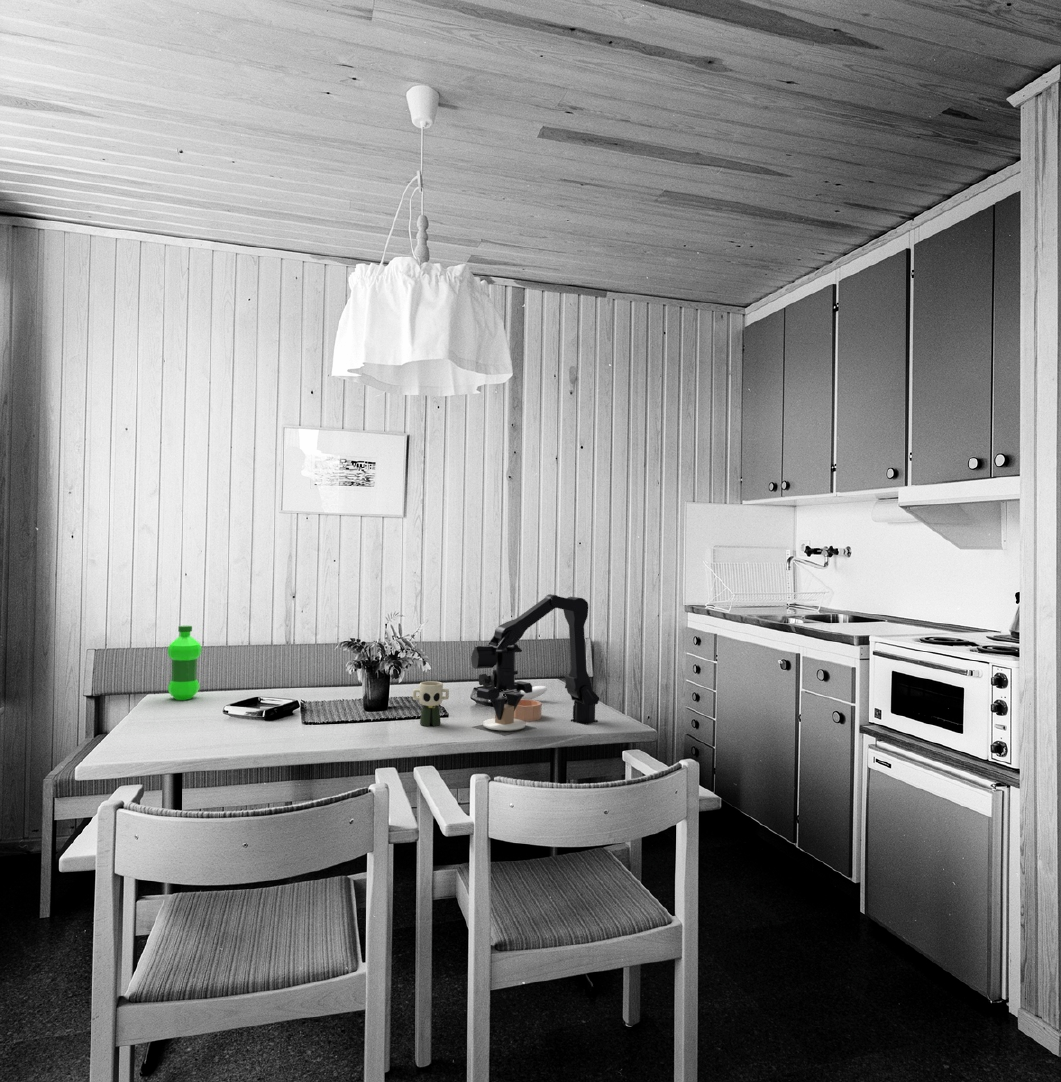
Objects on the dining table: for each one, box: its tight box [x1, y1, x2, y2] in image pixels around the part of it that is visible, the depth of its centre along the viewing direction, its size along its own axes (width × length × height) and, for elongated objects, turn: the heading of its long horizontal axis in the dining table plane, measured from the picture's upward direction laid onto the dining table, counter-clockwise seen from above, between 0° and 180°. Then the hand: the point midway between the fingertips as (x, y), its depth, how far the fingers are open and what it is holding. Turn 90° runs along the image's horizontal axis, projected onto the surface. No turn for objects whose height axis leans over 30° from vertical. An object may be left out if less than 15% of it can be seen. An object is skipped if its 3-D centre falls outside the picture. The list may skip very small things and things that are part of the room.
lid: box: [482, 703, 527, 731], centre depth 235 cm, size 13×13×6 cm
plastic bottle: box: [167, 625, 202, 701], centre depth 268 cm, size 10×10×25 cm
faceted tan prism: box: [514, 699, 543, 722], centre depth 250 cm, size 11×11×5 cm
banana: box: [507, 685, 548, 700], centre depth 277 cm, size 5×19×15 cm, turn 96°
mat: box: [472, 724, 537, 736], centre depth 235 cm, size 14×14×1 cm
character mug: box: [412, 680, 450, 727], centre depth 237 cm, size 11×7×13 cm, turn 103°
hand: (504, 718), depth 235 cm, fingers closed on lid, 4 cm apart
